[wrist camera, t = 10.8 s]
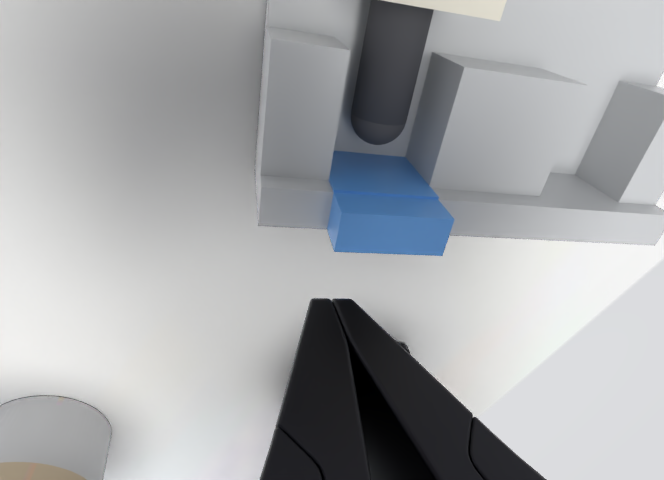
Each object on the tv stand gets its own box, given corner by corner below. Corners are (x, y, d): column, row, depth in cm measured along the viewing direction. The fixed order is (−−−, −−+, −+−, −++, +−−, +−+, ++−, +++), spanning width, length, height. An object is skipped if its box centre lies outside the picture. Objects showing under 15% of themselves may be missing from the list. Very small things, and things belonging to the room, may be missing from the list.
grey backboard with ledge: (582, 195, 24) (683, 264, 18) (254, 169, 20) (259, 248, 14) (747, -137, 17) (993, -185, 11) (287, -284, 13) (322, -470, 7)
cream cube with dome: (408, 138, 19) (448, 181, 15) (322, 130, 18) (344, 173, 14) (486, -172, 14) (577, -222, 10) (372, -206, 13) (425, -273, 9)
